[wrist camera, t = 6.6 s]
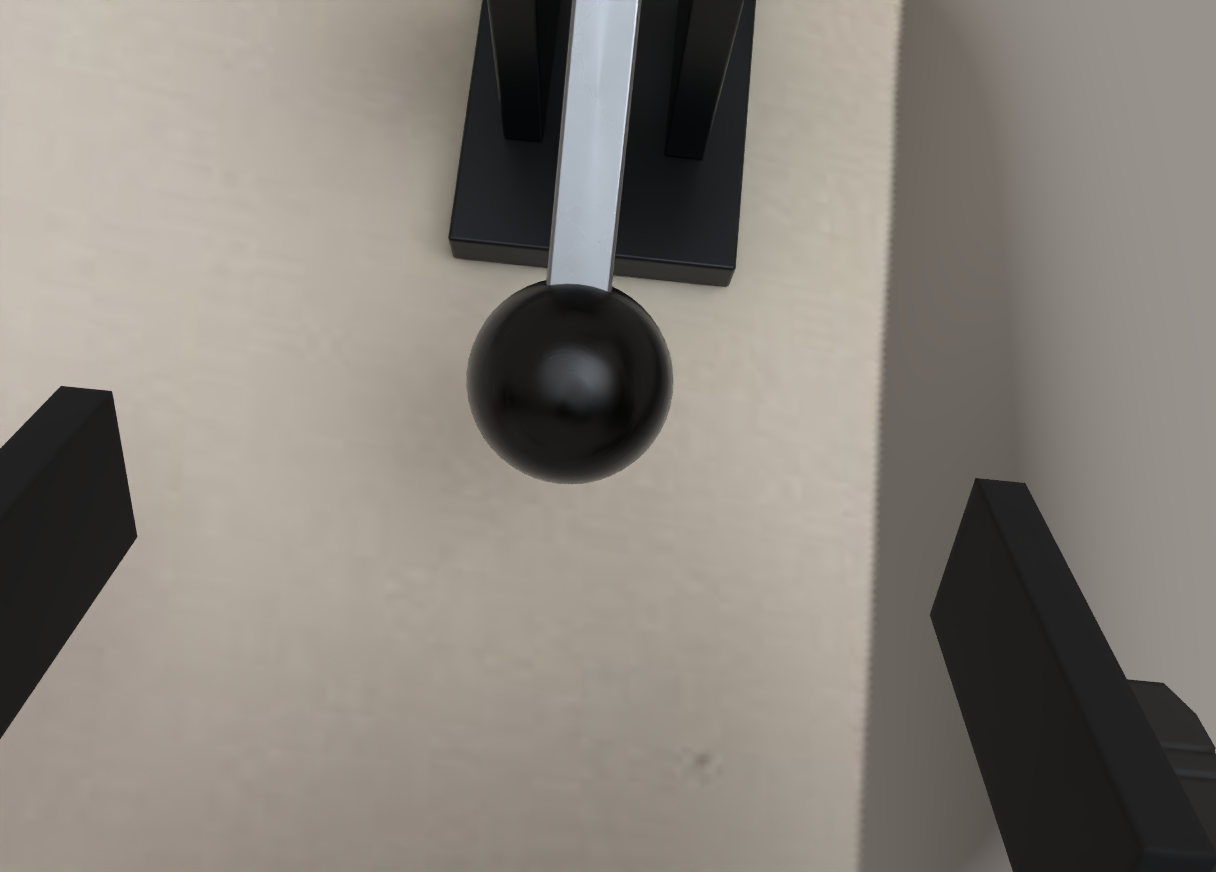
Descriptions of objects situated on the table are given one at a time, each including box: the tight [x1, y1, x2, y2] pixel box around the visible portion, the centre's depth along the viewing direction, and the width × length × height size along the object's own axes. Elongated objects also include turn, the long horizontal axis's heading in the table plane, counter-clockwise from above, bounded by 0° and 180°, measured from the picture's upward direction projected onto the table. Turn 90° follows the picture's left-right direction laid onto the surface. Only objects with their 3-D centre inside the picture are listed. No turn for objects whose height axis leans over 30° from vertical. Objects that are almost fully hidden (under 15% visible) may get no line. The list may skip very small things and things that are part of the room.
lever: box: [467, 0, 673, 484], centre depth 18 cm, size 14×4×4 cm, turn 174°
